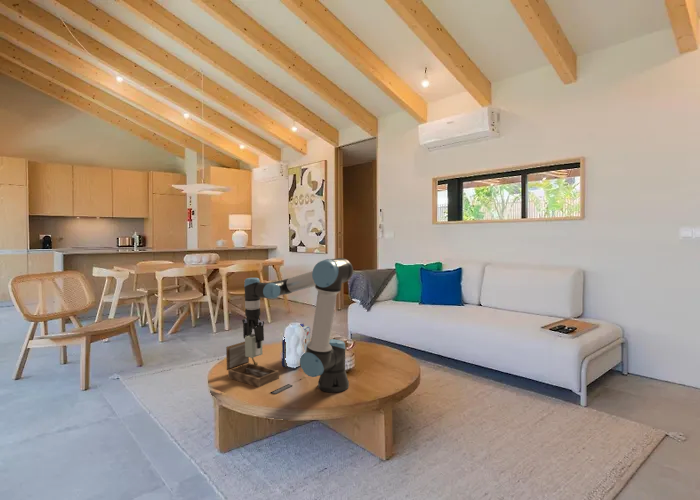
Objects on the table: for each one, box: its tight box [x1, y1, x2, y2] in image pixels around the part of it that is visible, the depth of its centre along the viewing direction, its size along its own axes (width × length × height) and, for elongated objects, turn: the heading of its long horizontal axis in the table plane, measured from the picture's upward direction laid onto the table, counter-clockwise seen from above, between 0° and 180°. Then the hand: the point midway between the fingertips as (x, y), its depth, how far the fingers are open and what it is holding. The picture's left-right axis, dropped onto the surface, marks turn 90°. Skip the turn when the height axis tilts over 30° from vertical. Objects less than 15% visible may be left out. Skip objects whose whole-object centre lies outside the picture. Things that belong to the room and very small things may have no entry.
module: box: [244, 333, 264, 359], centre depth 212 cm, size 5×7×11 cm
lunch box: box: [281, 323, 311, 369], centre depth 239 cm, size 28×10×22 cm, turn 168°
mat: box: [269, 383, 293, 395], centre depth 203 cm, size 10×12×1 cm
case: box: [225, 341, 280, 388], centre depth 214 cm, size 23×14×17 cm, turn 56°
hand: (253, 353), depth 213 cm, fingers closed on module, 5 cm apart
